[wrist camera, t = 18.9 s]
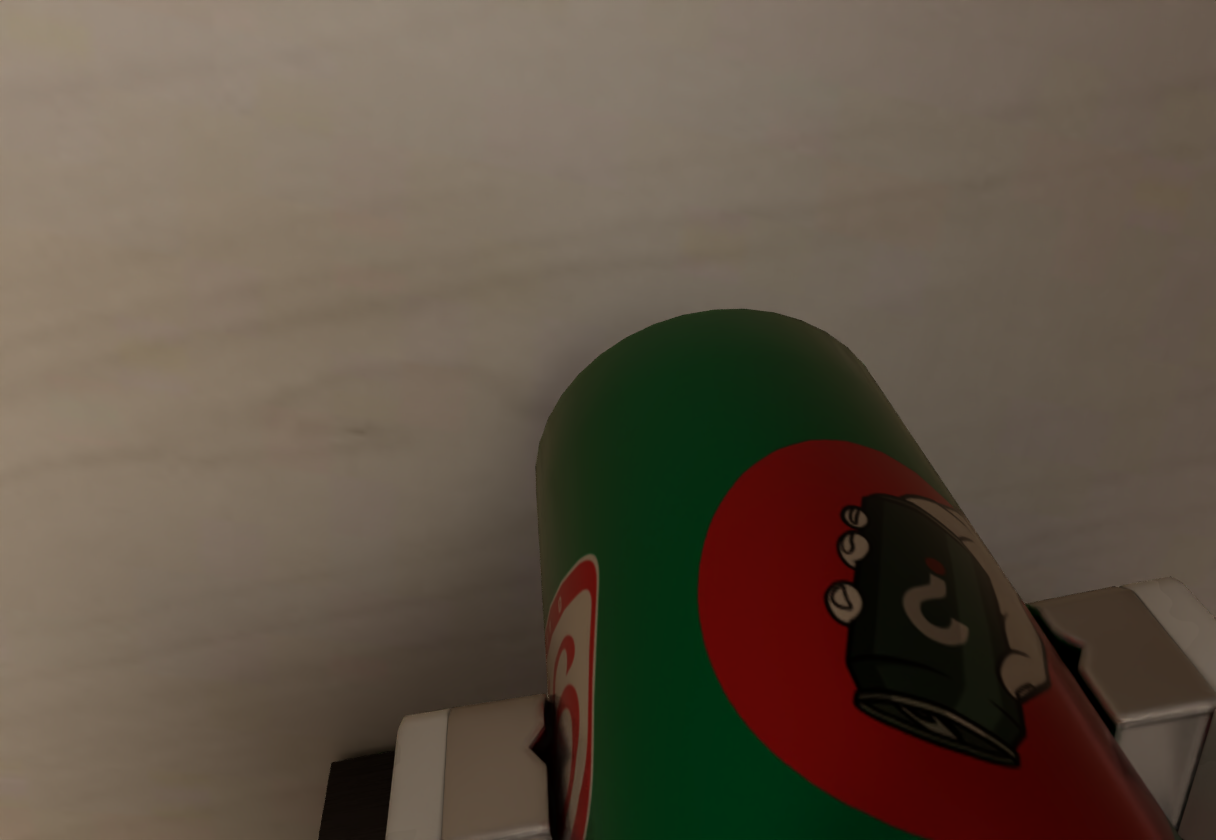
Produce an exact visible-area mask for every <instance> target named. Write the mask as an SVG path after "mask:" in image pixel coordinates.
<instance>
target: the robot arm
mask: <svg viewBox="0 0 1216 840" xmlns="http://www.w3.org/2000/svg"><path fill="white" fill-rule="evenodd" d="M1025 605H1026V607H1027V608H1028V610H1029V611H1030V613H1031V614H1032V616H1033V617H1034V619H1035V620H1036V622H1037V623H1038V625H1039V626H1040V628H1041V629H1042V631H1043V632H1044V634H1045V635H1046V637H1047V638H1048V640H1049V641H1050V643H1051V644H1052V646H1053V647H1054V649H1055V650H1056V652H1057V653H1058V655H1059V656H1060V658H1061V659H1062V661H1063V662H1064V664H1065V665H1066V667H1067V668H1068V670H1069V671H1070V673H1071V674H1072V676H1073V677H1074V679H1075V680H1076V682H1077V683H1078V685H1079V686H1080V688H1081V689H1082V691H1083V692H1084V694H1085V695H1086V697H1087V698H1088V700H1089V701H1090V703H1091V704H1092V706H1093V707H1094V709H1095V710H1096V712H1097V713H1098V715H1099V716H1100V718H1101V719H1102V721H1103V722H1104V724H1105V725H1106V727H1107V728H1108V729H1109V731H1110V732H1111V734H1112V735H1113V737H1114V738H1115V740H1116V741H1117V743H1118V744H1119V746H1120V747H1121V749H1122V750H1123V752H1124V753H1125V755H1126V756H1127V758H1128V759H1129V761H1130V762H1131V764H1132V765H1133V767H1134V768H1135V770H1136V771H1137V773H1138V774H1139V776H1140V777H1141V779H1142V780H1143V782H1144V783H1145V785H1146V786H1147V788H1148V789H1149V791H1150V792H1151V794H1152V795H1153V797H1154V798H1155V800H1156V801H1157V803H1158V804H1159V806H1160V807H1161V809H1162V810H1163V812H1164V813H1165V815H1166V816H1167V818H1168V819H1169V821H1170V822H1171V824H1172V825H1173V827H1174V828H1175V830H1179V831H1178V834H1179V836H1180V837H1181V838H1182V839H1184V840H1216V619H1215V618H1214V617H1213V616H1212V615H1211V614H1210V613H1209V612H1208V610H1207V609H1206V608H1205V607H1204V606H1203V605H1202V604H1201V603H1200V602H1199V600H1198V599H1197V598H1196V597H1195V596H1194V595H1193V594H1192V593H1191V592H1190V591H1189V589H1188V588H1187V587H1186V586H1185V585H1184V584H1183V583H1182V582H1180V581H1178V580H1176V579H1174V578H1173V577H1171V576H1170V577H1164V578H1159V579H1153V580H1148V581H1143V582H1137V583H1132V584H1127V585H1122V586H1120V587H1116V586H1112V587H1107V588H1102V589H1097V590H1092V591H1087V592H1082V593H1077V594H1072V595H1067V596H1061V597H1056V598H1051V599H1046V600H1041V601H1036V602H1031V603H1026V604H1025ZM385 840H557V832H556V815H555V797H554V789H553V775H552V745H551V728H550V712H549V700H548V697H547V694H545V693H542V694H535V695H529V696H523V697H516V698H510V699H503V700H497V701H491V702H484V703H478V704H472V705H465V706H459V707H452V708H449V709H443V710H437V711H431V712H425V713H419V714H413V715H407V716H404V717H403V719H402V722H401V724H400V726H399V729H398V732H397V741H396V750H395V758H394V767H393V776H392V785H391V794H390V803H389V811H388V820H387V829H386V838H385Z"/></svg>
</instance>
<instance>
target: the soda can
mask: <svg viewBox="0 0 1216 840" xmlns="http://www.w3.org/2000/svg"><path fill="white" fill-rule="evenodd" d="M535 470H536V498H537V515H538V533H539V550H540V567H541V585H542V602H543V619H544V637H545V654H546V672H547V689H548V700H549V712H550V728H551V745H552V775H553V789H554V797H555V815H556V832H557V840H1182V839H1181V837H1180V836H1179V834H1178V833H1177V831H1176V830H1175V828H1174V827H1173V825H1172V824H1171V822H1170V821H1169V819H1168V818H1167V816H1166V815H1165V813H1164V812H1163V810H1162V809H1161V807H1160V806H1159V804H1158V803H1157V801H1156V800H1155V798H1154V797H1153V795H1152V794H1151V792H1150V791H1149V789H1148V788H1147V786H1146V785H1145V783H1144V782H1143V780H1142V779H1141V777H1140V776H1139V774H1138V773H1137V771H1136V770H1135V768H1134V767H1133V765H1132V764H1131V762H1130V761H1129V759H1128V758H1127V756H1126V755H1125V753H1124V752H1123V750H1122V749H1121V747H1120V746H1119V744H1118V743H1117V741H1116V740H1115V738H1114V737H1113V735H1112V734H1111V732H1110V731H1109V729H1108V728H1107V727H1106V725H1105V724H1104V722H1103V721H1102V719H1101V718H1100V716H1099V715H1098V713H1097V712H1096V710H1095V709H1094V707H1093V706H1092V704H1091V703H1090V701H1089V700H1088V698H1087V697H1086V695H1085V694H1084V692H1083V691H1082V689H1081V688H1080V686H1079V685H1078V683H1077V682H1076V680H1075V679H1074V677H1073V676H1072V674H1071V673H1070V671H1069V670H1068V668H1067V667H1066V665H1065V664H1064V662H1063V661H1062V659H1061V658H1060V656H1059V655H1058V653H1057V652H1056V650H1055V649H1054V647H1053V646H1052V644H1051V643H1050V641H1049V640H1048V638H1047V637H1046V635H1045V634H1044V632H1043V631H1042V629H1041V628H1040V626H1039V625H1038V623H1037V622H1036V620H1035V619H1034V617H1033V616H1032V614H1031V613H1030V611H1029V610H1028V608H1027V607H1026V605H1025V604H1024V602H1023V601H1022V599H1021V598H1020V597H1019V595H1018V594H1017V592H1016V591H1015V589H1014V588H1013V586H1012V585H1011V583H1010V582H1009V580H1008V579H1007V577H1006V576H1005V574H1004V573H1003V571H1002V570H1001V568H1000V567H999V565H998V564H997V562H996V561H995V559H994V558H993V556H992V555H991V553H990V552H989V550H988V549H987V547H986V546H985V544H984V543H983V541H982V540H981V538H980V537H979V535H978V534H977V532H976V531H975V529H974V528H973V526H972V525H971V523H970V522H969V520H968V519H967V517H966V516H965V514H964V513H963V511H962V510H961V508H960V507H959V505H958V504H957V502H956V501H955V499H954V498H953V496H952V495H951V493H950V492H949V490H948V489H947V487H946V486H945V484H944V483H943V481H942V480H941V478H940V477H939V475H938V474H937V472H936V471H935V470H934V468H933V467H932V465H931V464H930V462H929V461H928V459H927V458H926V456H925V455H924V453H923V452H922V450H921V449H920V447H919V446H918V444H917V443H916V441H915V440H914V438H913V437H912V435H911V434H910V432H909V431H908V429H907V428H906V426H905V425H904V423H903V422H902V420H901V419H900V417H899V416H898V414H897V413H896V411H895V410H894V408H893V407H892V405H891V404H890V402H889V401H888V399H887V398H886V396H885V395H884V393H883V392H882V390H881V389H880V387H879V386H878V384H877V383H876V381H875V380H874V378H873V377H872V375H871V374H870V372H869V371H868V369H867V368H866V366H865V365H864V364H863V363H862V362H861V361H860V360H859V359H858V358H857V357H856V356H855V355H854V353H853V352H852V351H851V350H850V349H849V348H848V347H846V346H845V345H844V344H842V343H841V342H839V341H838V340H837V339H835V338H834V337H832V336H831V335H830V334H828V333H827V332H825V331H823V330H821V329H819V328H817V327H815V326H812V325H810V324H808V323H806V322H804V321H802V320H799V319H795V318H792V317H788V316H785V315H781V314H778V313H774V312H766V311H758V310H750V309H720V310H709V311H703V312H697V313H691V314H686V315H681V316H678V317H675V318H672V319H669V320H666V321H663V322H659V323H656V324H653V325H651V326H649V327H647V328H645V329H643V330H641V331H639V332H637V333H634V334H632V335H630V336H628V337H626V338H625V339H623V340H622V341H620V342H619V343H617V344H616V345H614V346H613V347H611V348H610V349H608V350H607V351H605V352H603V353H602V354H601V355H599V356H598V357H597V358H596V359H595V360H594V361H593V362H592V363H591V364H589V365H588V366H587V367H586V368H585V369H584V370H583V371H582V372H581V373H579V375H578V376H577V377H576V378H575V379H574V381H573V382H572V383H571V384H570V386H569V387H568V388H567V389H566V391H565V392H564V393H563V394H562V395H561V397H560V399H559V401H558V402H557V404H556V406H555V408H554V409H553V411H552V413H551V415H550V416H549V418H548V420H547V423H546V426H545V429H544V432H543V434H542V437H541V440H540V443H539V448H538V454H537V460H536V466H535Z"/></svg>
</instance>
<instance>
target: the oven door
mask: <svg viewBox="0 0 1216 840" xmlns="http://www.w3.org/2000/svg"><path fill="white" fill-rule="evenodd" d="M394 758H395V751H392V752H386V753H381V754H375V755H370V756H364V757H359V758H354V759H348V760H343V761H337V762H333V763H331V768H330V773H329V779H328V785H327V791H326V797H325V802H324V808H323V814H322V820H321V826H320V831H319V837H318V840H385V838H386V829H387V820H388V811H389V803H390V794H391V785H392V776H393V767H394ZM1176 831H1177V833H1178V831H1179V830H1176ZM1181 839H1182V838H1181ZM1182 840H1184V839H1182Z"/></svg>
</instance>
